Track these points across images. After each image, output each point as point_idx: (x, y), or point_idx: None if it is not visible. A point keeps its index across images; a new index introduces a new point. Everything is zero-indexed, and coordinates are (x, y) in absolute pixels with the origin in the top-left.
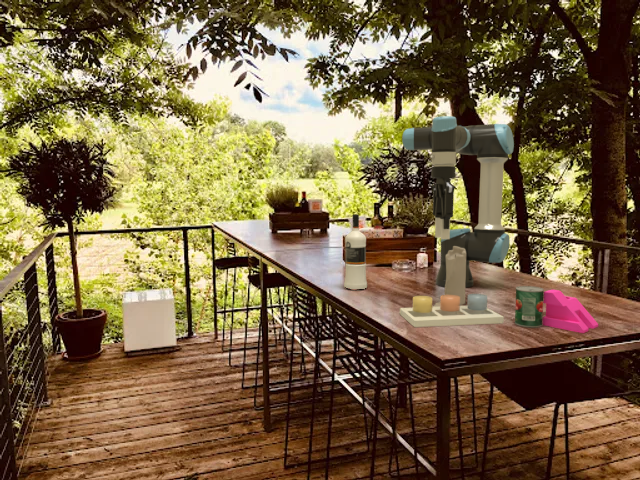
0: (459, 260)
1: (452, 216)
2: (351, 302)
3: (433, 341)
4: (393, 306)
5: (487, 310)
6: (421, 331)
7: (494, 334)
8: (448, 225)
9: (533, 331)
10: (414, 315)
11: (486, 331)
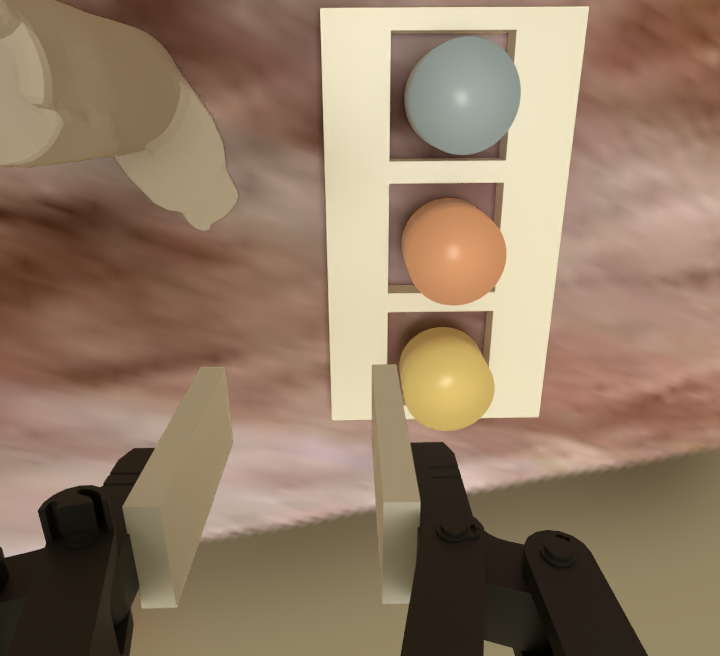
0: (64, 74)
1: (576, 545)
2: None
3: (708, 392)
4: None
5: (442, 30)
6: (586, 395)
7: (716, 142)
8: (458, 477)
9: None
10: None
11: (667, 156)
